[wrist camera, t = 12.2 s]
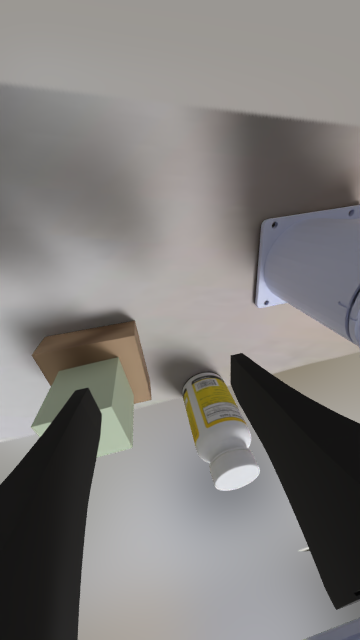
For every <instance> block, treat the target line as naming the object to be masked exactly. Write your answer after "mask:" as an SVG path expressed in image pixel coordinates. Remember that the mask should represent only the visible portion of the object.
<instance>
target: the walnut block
mask: <svg viewBox="0 0 360 640" xmlns="http://www.w3.org/2000/svg"><path fill="white" fill-rule="evenodd" d="M32 356H33V358H34V360H35V361H36V363H37V365H38V366H39V368H40V369H41V371H42V373H43V374H44V376H45V378H46V379H47V381H48V382H49V384H50V386H52V384H53V382H54V380H55V378H56V376H57V374H58V372H59V371H61V370H65V369H70V368H74V367H78V366H82V365H87V364H91V363H95V362H100V361H104V360H108V359H112V358H117V357H119V360H120V362H121V365H122V367H123V370H124V372H125V375H126V377H127V380H128V382H129V385H130V387H131V390H132V392H133V395H134V404H135V403H139V402H144V401H148V400H151V387H150V379H149V375H148V371H147V367H146V363H145V359H144V355H143V351H142V347H141V343H140V339H139V335H138V331H137V327H136V323H135V321H130V322H125V323H119V324H113V325H108V326H102V327H97V328H91V329H86V330H80V331H75V332H69V333H64V334H58V335H52V336H47V337H45V338H44V339H43V340H42V342H41V343H40V344H39V346H38V347H37V349H36V350H35V351H34V353H33V354H32Z"/></svg>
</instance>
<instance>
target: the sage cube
mask: <svg viewBox="0 0 360 640" xmlns="http://www.w3.org/2000/svg"><path fill="white" fill-rule="evenodd" d="M84 388H89V390H90V392H91V394H92V396H93V398H94V400H95V401H96V403H97V405H98V407H99V409H100V411H101V413H102V422H101V435H100V441H99V447H98V452H97V457H101V456H105V455H108V454H112V453H115V452H119V451H123V450H126V449H130V448H132V447H133V409H134V395H133V392H132V390H131V387H130V385H129V382H128V380H127V377H126V375H125V372H124V370H123V367H122V365H121V362H120V360H119V357H117V358H112V359H108V360H104V361H100V362H95V363H91V364H87V365H82V366H78V367H74V368H70V369H65V370H61V371H59V372H58V374H57V376H56V378H55V380H54V382H53V384H52V386H51V388H50V390H49V392H48V394H47V396H46V398H45V400H44V402H43V404H42V406H41V408H40V410H39V412H38V414H37V416H36V418H35V420H34V422H33V424H32V426H31V428H32V429H33V430H34V431H35V432H36V434H37V435H38V436H39V437H41V436H42V434H43V433H44V432H45V430H46V429H47V428H48V426H49V425H50V424H51V422H52V421H53V420H54V418H55V417H56V416H57V414H58V413H59V412H60V410H61V409H62V408H63V406H64V405H65V404H66V402H67V401H68V399H69V398H70V397H71V395H72V394H73V393H74V391H75V390H79V389H84ZM97 457H96V458H97Z"/></svg>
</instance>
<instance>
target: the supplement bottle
mask: <svg viewBox="0 0 360 640" xmlns="http://www.w3.org/2000/svg"><path fill="white" fill-rule="evenodd" d="M182 394H183V399H184V403H185V407H186V411H187V415H188V418H189V423H190V427H191V430H192V435H193V438H194V442H195V446H196V450H197V452H198V455H199V456H200V458H201V459H202V460H204V461H206V462H208V463H210V466H209V467H210V473H211V476H212V479H213V482H214V485H215V487H216V488H217V489H219V490H222V491H229V490H234V489H238V488H240V487H243V486H245V485H247V484H249V483H250V482H252V481H253V480H254V479H255V478H256V477H257V476H258V474H259V472H260V468H259V466H258V464H257V462H256V459H255V457H254V455H253V453H252V451H251V450H250V449H248V448H249V446H250V443H251V434H250V431H249V429H248V426H247V425H246V423H245V421H244V419H243V417H242V415H241V413H240V411H239V409H238V407H237V405H236V403H235V401H234V399H233V398H232V396H231V394H230V392H229V390H228V388H227V386H226V384H225V383H224V381H223V379H222V378H221V377H220V376H219V375H217V374H214V373H201V374H198V375H196V376H194V377H192V378H191V379H189V380H188V381H187V383H186V384H185V386H184V388H183V392H182Z"/></svg>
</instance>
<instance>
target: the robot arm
mask: <svg viewBox="0 0 360 640" xmlns="http://www.w3.org/2000/svg"><path fill="white" fill-rule="evenodd" d="M349 212H350V213H349ZM273 222H275V226H274V227H273V228H272V224H273ZM266 300H267V302H266V303H264V302H265V301H266ZM284 303H288V304H290V305H292V306H293V307H295V308H297V309H298V310H300V311H301V312H303V313H305V314H306V315H308V316H310V317H311V318H313V319H315V320H316V321H318V322H319V323H321V324H323V325H324V326H326V327H328V328H329V329H331V330H333V331H334V332H336V333H338V334H339V335H341V336H342V337H344V338H346V339H347V340H349V341H351V342H352V343H354V344H356V345H357V346H358V347H359V348H360V205H355V206H348V207H342V208H335V209H329V210H322V211H316V212H309V213H303V214H296V215H290V216H283V217H277V218H270V219H266V220H264V221H263V223H262V225H261V235H260V248H259V261H258V274H257V287H256V300H255V305H256V306H257V307H258V308H264V307H269V306H274V305H279V304H284ZM231 386H232V388H233V391H234V393H235V395H236V397H237V400H238V402H239V404H240V406H241V407H242V409H243V411H244V413H245V414H246V416H247V418H248V420H249V421H250V423H251V425H252V427H253V428H254V430H255V432H256V433H257V435H258V437H259V439H260V441H261V442H262V444H263V446H264V448H265V450H266V452H267V454H268V455H269V458H270V460H271V462H272V464H273V466H274V469H275V470H276V473H277V475H278V477H279V479H280V482H281V484H282V486H283V488H284V491H285V493H286V495H287V497H288V499H289V502H290V504H291V506H292V509H293V511H294V513H295V516H296V518H297V520H298V523H299V525H300V527H301V530H302V532H303V534H304V537H305V539H306V542H307V544H308V547H309V549H310V552H311V554H312V556H313V559H314V561H315V564H316V566H317V569H318V571H319V574H320V577H321V579H322V582H323V584H324V587H325V589H326V591H327V593H328V595H329V597H330V599H331V601H332V603H333V605H334V607H335V608H336V610H337V609H340V608H343V607H345V606H348V605H350V604H353V603H356V602H358V601H360V424H359V423H357V422H355V421H353V420H351V419H349V418H347V417H344V416H342V415H340V414H338V413H336V412H334V411H332V410H330V409H328V408H327V407H325V406H323V405H321V404H319V403H317V402H315V401H314V400H312V399H310V398H308V397H306V396H304V395H303V394H301V393H300V392H298V391H296V390H295V389H293V388H291V387H290V386H288V385H287V384H285V383H284V382H282V381H280V380H279V379H278V378H276V377H275V376H273V375H272V374H270V373H269V372H268V371H266V370H265V369H263V368H262V367H261V366H259V365H258V364H256V363H255V362H254V361H252V360H251V359H250V358H248V357H247V356H245V355H244V354H243V353H240V354H235V355H231ZM101 422H102V413H101V411H100V409H99V407H98V405H97V403H96V401H95V400H94V398H93V396H92V394H91V392H90V390H89V388H84V389H79V390H75V391H74V393H73V394H72V395H71V397H70V398H69V399H68V401H67V402H66V404H65V405H64V406H63V408H62V409H61V410H60V412H59V413H58V414H57V416H56V417H55V418H54V420H53V421H52V422H51V424H50V425H49V426H48V428H47V429H46V430H45V432H44V433H43V434H42V436H41V437H40V438H39V439H38V441H37V442H36V443H35V444H34V446H33V447H32V448H31V449H30V451H29V452H28V453H27V454H26V455H25V457H24V458H23V459H22V460H21V462H20V463H19V464H18V465H17V466H16V468H15V469H14V470H13V471H12V472H11V473H10V474H9V476H8V477H7V478H6V479H5V480H4V481H3V482H2V484H1V485H0V640H77V637H78V616H79V598H80V583H81V570H82V558H83V546H84V536H85V526H86V517H87V508H88V500H89V494H90V488H91V483H92V478H93V473H94V468H95V462H96V457H97V452H98V447H99V441H100V435H101ZM303 640H360V618H358V619H355V620H352V621H350V622H347V623H345V624H342V625H339V626H337V627H334V628H332V629H329V630H327V631H324V632H321V633H319V634H316V635H314V636H311V637H309V638H306V639H303Z"/></svg>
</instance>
